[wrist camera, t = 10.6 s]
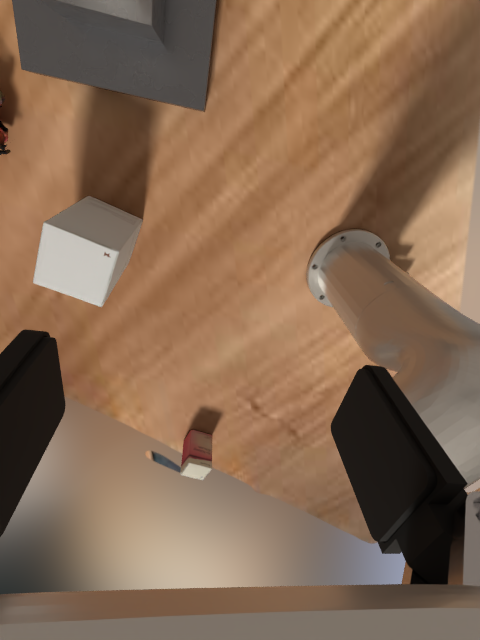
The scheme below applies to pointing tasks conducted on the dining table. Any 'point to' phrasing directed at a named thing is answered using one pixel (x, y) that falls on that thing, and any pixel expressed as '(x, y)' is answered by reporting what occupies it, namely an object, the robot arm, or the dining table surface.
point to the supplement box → (86, 250)
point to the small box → (197, 455)
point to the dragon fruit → (3, 131)
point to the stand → (121, 45)
